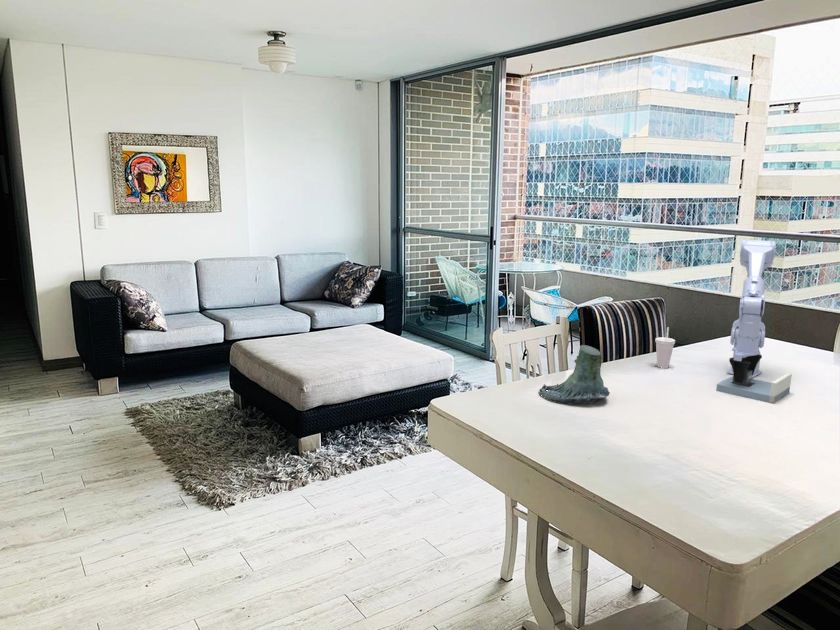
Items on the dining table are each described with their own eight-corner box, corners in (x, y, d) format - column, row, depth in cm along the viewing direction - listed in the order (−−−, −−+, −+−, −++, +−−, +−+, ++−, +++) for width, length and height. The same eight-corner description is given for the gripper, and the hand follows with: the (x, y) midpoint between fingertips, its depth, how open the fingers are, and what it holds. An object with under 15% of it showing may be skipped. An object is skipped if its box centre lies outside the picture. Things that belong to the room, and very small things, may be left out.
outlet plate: (733, 381, 203) (735, 362, 202) (789, 393, 192) (791, 373, 191) (716, 390, 194) (718, 371, 193) (773, 403, 183) (776, 383, 181)
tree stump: (559, 383, 201) (576, 331, 195) (614, 413, 189) (634, 358, 183) (526, 393, 188) (543, 337, 182) (583, 426, 176) (604, 368, 170)
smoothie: (669, 370, 214) (673, 329, 212) (650, 367, 218) (653, 327, 215) (675, 366, 219) (678, 326, 217) (656, 363, 223) (659, 324, 220)
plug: (736, 386, 198) (738, 367, 197) (751, 389, 195) (753, 370, 194) (731, 389, 195) (733, 370, 194) (746, 392, 192) (748, 373, 191)
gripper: (743, 330, 200) (738, 372, 202) (725, 337, 190) (720, 381, 192) (767, 334, 195) (762, 377, 197) (750, 341, 185) (745, 386, 187)
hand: (743, 379), depth 194 cm, fingers open, 7 cm apart
